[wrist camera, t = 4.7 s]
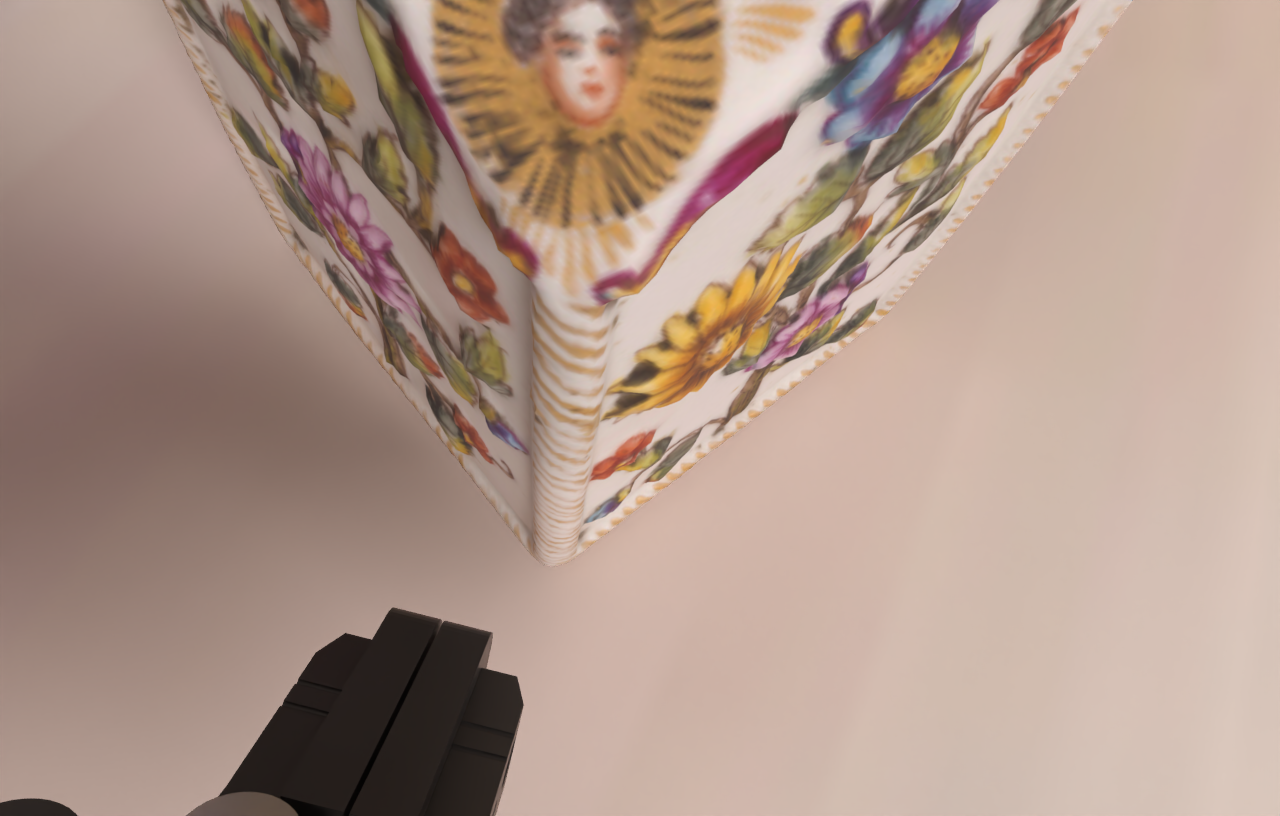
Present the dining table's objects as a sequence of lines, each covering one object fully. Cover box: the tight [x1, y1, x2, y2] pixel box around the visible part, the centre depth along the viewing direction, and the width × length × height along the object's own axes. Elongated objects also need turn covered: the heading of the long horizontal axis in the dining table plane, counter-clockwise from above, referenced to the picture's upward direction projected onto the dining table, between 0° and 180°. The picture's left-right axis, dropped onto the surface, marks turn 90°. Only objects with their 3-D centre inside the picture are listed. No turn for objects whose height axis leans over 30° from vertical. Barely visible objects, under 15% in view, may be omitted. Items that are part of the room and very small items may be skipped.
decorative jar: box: [163, 0, 1133, 567], centre depth 15 cm, size 12×12×18 cm
